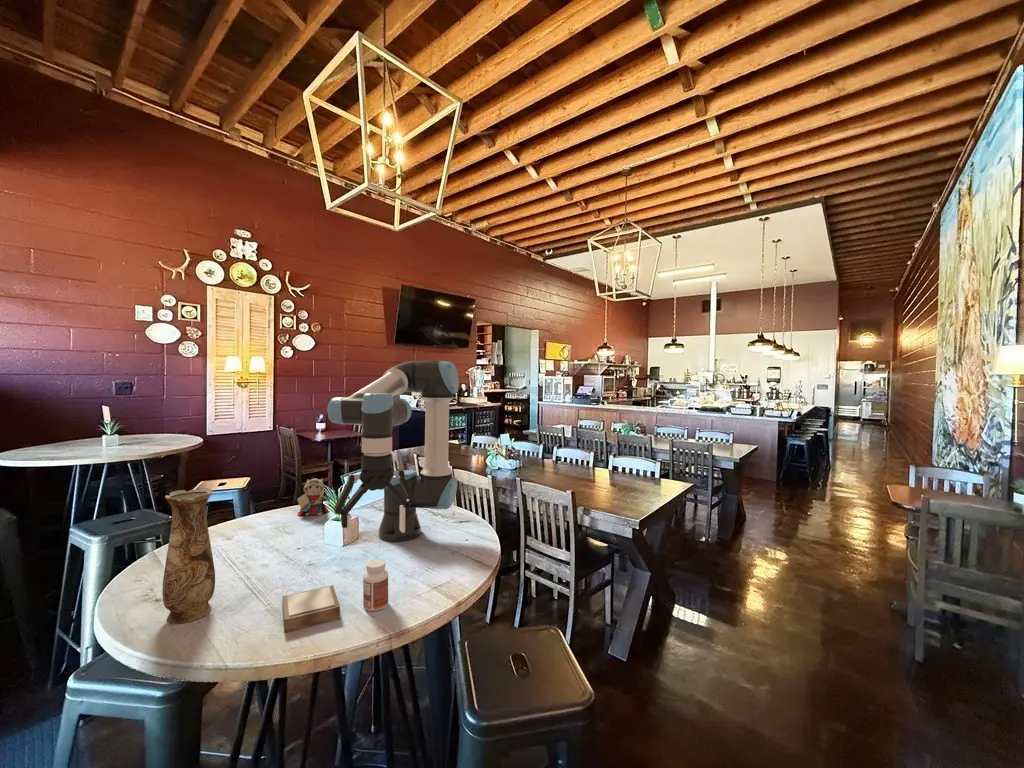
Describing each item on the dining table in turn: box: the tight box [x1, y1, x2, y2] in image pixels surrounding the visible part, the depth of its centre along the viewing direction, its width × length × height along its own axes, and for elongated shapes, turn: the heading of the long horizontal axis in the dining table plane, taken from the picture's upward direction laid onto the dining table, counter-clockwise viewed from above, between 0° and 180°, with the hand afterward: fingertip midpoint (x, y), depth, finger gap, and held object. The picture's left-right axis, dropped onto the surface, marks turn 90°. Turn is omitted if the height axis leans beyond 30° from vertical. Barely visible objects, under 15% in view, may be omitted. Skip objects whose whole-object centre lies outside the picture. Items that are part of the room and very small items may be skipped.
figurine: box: [297, 478, 330, 517], centre depth 181 cm, size 13×11×15 cm
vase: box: [161, 487, 216, 624], centre depth 106 cm, size 10×11×30 cm
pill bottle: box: [362, 559, 389, 612], centre depth 111 cm, size 6×6×11 cm
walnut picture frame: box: [281, 585, 341, 634], centre depth 108 cm, size 12×12×3 cm
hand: (375, 535), depth 111 cm, fingers open, 13 cm apart
